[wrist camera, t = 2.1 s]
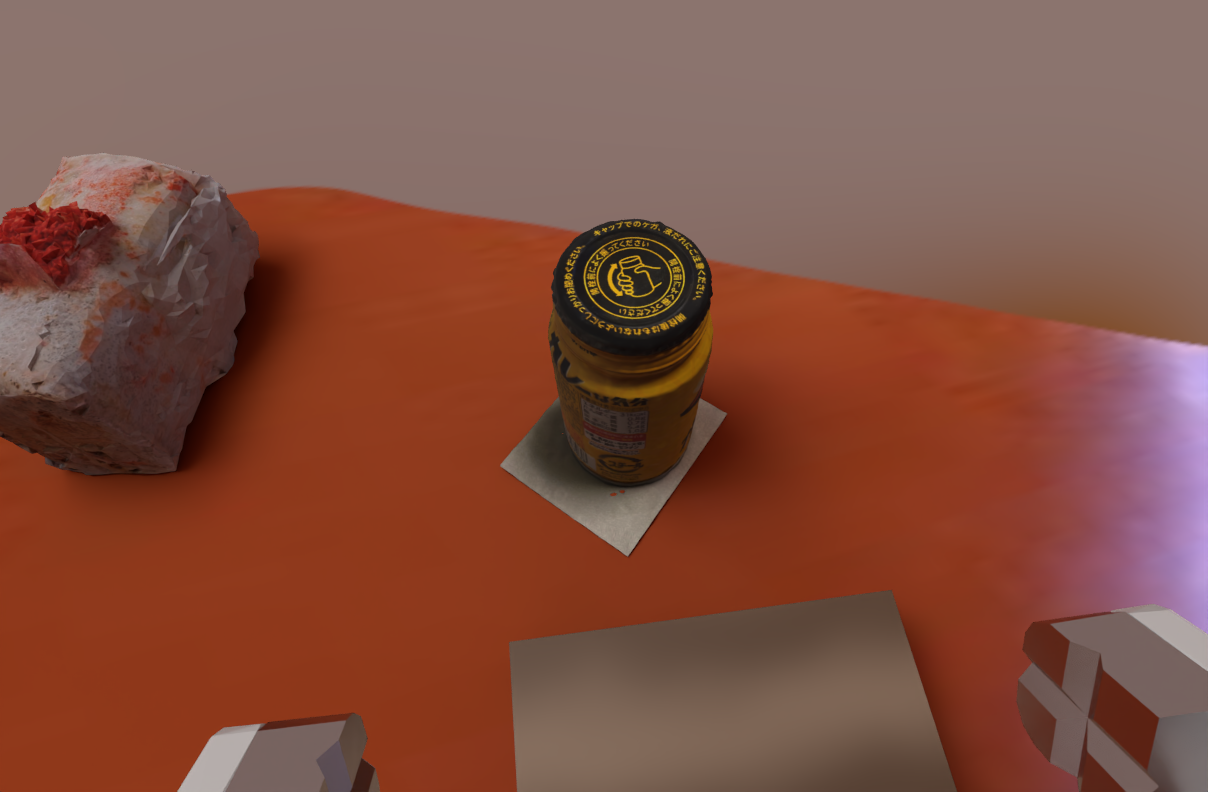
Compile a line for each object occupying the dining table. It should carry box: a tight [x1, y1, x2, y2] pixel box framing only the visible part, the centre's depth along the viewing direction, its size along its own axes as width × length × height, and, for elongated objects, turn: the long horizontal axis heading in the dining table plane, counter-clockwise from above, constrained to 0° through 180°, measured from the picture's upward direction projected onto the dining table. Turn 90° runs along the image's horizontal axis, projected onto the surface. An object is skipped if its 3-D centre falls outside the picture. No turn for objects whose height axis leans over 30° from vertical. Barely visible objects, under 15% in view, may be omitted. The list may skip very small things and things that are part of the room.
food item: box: [0, 153, 260, 475], centre depth 30 cm, size 14×8×10 cm, turn 177°
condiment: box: [500, 219, 727, 556], centre depth 26 cm, size 7×8×12 cm
